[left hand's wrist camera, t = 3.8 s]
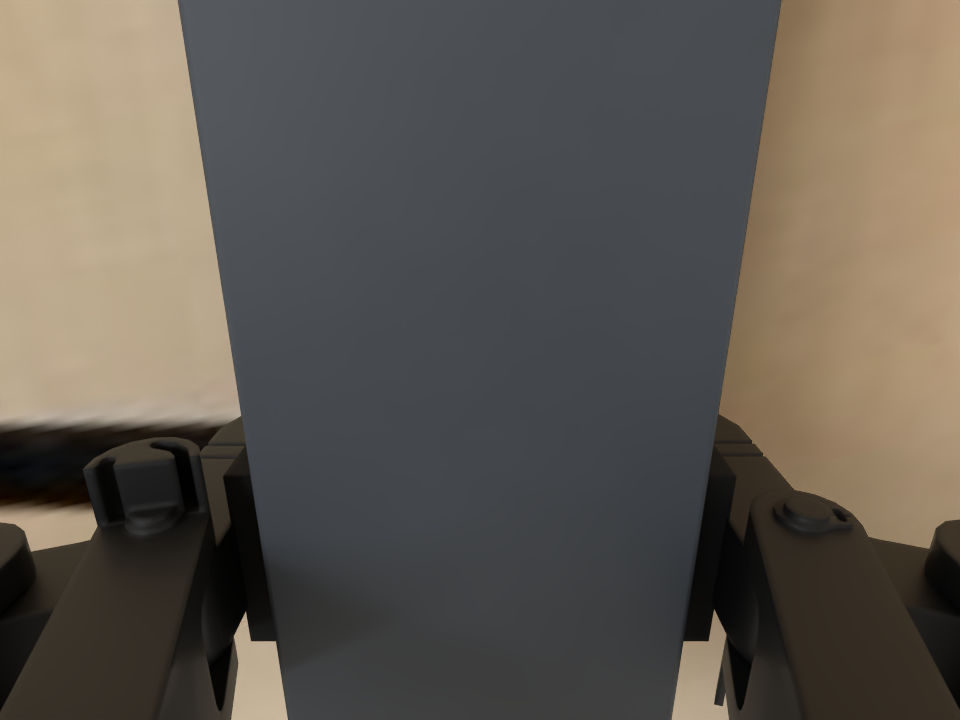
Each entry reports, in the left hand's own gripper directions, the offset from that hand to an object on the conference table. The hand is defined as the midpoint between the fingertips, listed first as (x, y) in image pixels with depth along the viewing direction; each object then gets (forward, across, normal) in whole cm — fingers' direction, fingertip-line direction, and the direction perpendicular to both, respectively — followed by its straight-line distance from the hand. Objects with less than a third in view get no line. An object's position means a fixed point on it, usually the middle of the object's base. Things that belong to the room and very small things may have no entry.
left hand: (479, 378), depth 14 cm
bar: (+1, 0, -21) cm, 21 cm away
